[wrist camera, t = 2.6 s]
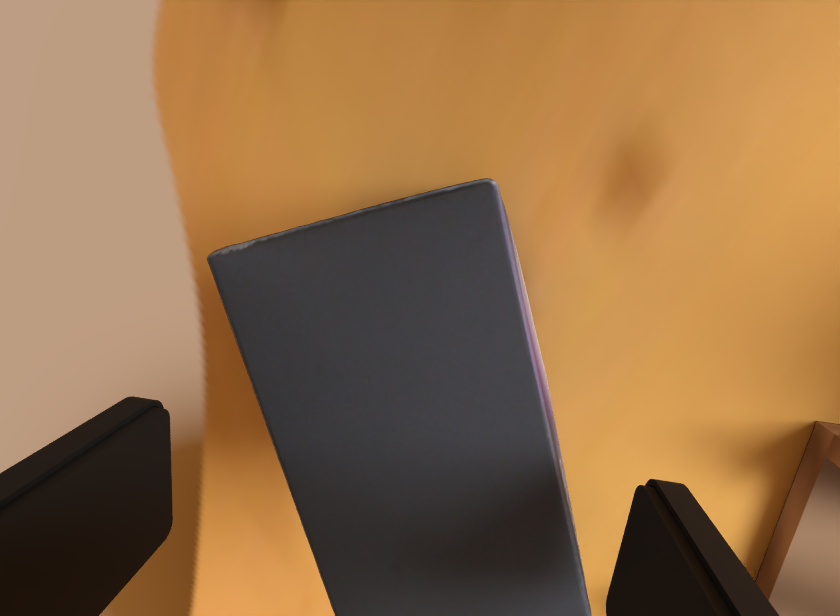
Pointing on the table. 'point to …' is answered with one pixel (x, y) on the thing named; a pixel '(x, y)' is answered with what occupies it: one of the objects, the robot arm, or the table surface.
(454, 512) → the small box
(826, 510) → the holder
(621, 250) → the table surface
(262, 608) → the table surface
